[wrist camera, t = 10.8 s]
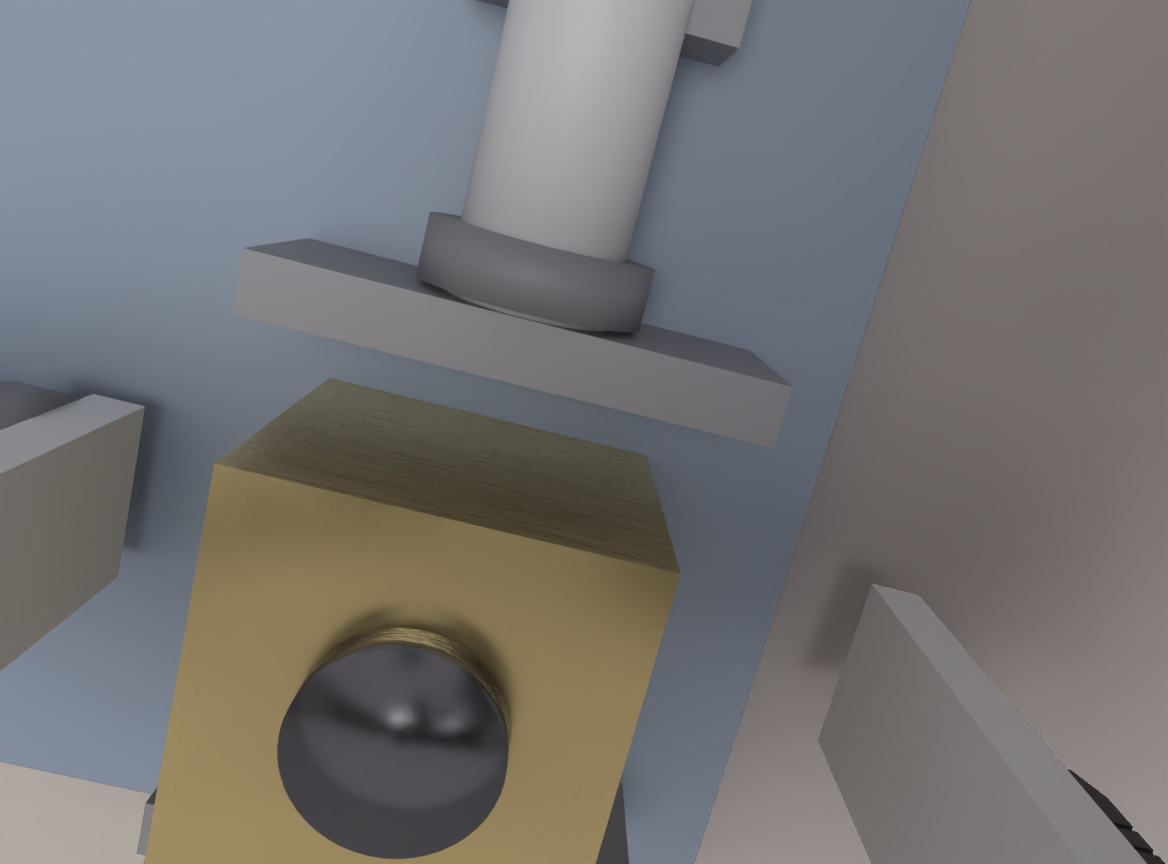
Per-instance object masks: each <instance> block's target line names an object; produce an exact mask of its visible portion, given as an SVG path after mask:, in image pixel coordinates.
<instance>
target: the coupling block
mask: <svg viewBox="0 0 1168 864" xmlns="http://www.w3.org/2000/svg"><path fill="white" fill-rule="evenodd" d="M680 575H681V573H680V569H679V566H678V563H677V559H676V556H675V552H674V549H673V545H672V542H671V538H670V535H669V531H668V528H667V524H666V521H665V517H664V514H663V510H662V507H661V503H660V500H659V497H658V493H657V490H656V486H655V483H654V479H653V476H652V472H651V469H650V465H649V462H648V458H647V455H643V454H639V453H635V452H631V451H627V450H623V449H619V448H615V447H611V446H607V445H602V444H598V443H594V442H590V441H586V440H582V439H578V438H574V437H570V436H566V435H561V434H557V433H553V432H549V431H545V430H541V429H537V428H533V427H529V426H525V425H521V424H516V423H512V422H508V421H504V420H500V419H496V418H492V417H488V416H484V415H480V414H475V413H471V412H467V411H463V410H459V409H455V408H451V407H447V406H443V405H439V404H435V403H430V402H426V401H422V400H418V399H414V398H410V397H406V396H402V395H398V394H394V393H389V392H385V391H381V390H377V389H373V388H369V387H365V386H361V385H357V384H353V383H349V382H344V381H340V380H336V379H332V378H329V379H328V380H326V381H325V382H324V383H322V384H321V385H319V386H318V387H317V388H315V389H314V390H313V391H311V392H310V393H309V394H307V395H306V396H305V397H303V398H302V399H301V400H299V401H298V402H297V403H295V404H294V405H292V406H291V407H290V408H288V409H287V410H286V411H284V412H283V413H282V414H280V415H279V416H278V417H276V418H275V419H274V420H272V421H271V422H270V423H268V424H267V425H265V426H264V427H263V428H261V429H260V430H259V431H257V432H256V433H255V434H253V435H252V436H251V437H249V438H248V439H247V440H245V441H244V442H243V443H241V444H240V445H239V446H237V447H236V448H234V449H233V450H232V451H230V452H229V453H228V454H226V455H225V456H224V457H222V458H221V459H220V460H218V461H217V462H216V463H214V468H213V473H212V479H211V485H210V490H209V496H208V502H207V508H206V513H205V519H204V525H203V530H202V536H201V542H200V547H199V553H198V559H197V565H196V570H195V576H194V582H193V587H192V593H191V599H190V605H189V610H188V616H187V622H186V627H185V633H184V639H183V644H182V650H181V656H180V662H179V667H178V673H177V679H176V684H175V690H174V696H173V702H172V707H171V713H170V719H169V724H168V730H167V736H166V741H165V747H164V753H163V759H162V764H161V770H160V776H159V781H158V787H157V793H156V798H155V804H154V810H153V816H152V821H151V827H150V833H149V838H148V844H147V850H146V856H145V861H144V864H596V861H597V857H598V854H599V851H600V847H601V844H602V840H603V837H604V834H605V830H606V827H607V823H608V820H609V817H610V813H611V810H612V806H613V803H614V800H615V796H616V793H617V789H618V786H619V783H620V779H621V776H622V772H623V769H624V765H625V762H626V759H627V755H628V752H629V748H630V745H631V742H632V738H633V735H634V731H635V728H636V725H637V721H638V718H639V714H640V711H641V708H642V704H643V701H644V697H645V694H646V690H647V687H648V684H649V680H650V677H651V673H652V670H653V667H654V663H655V660H656V656H657V653H658V650H659V646H660V643H661V639H662V636H663V633H664V629H665V626H666V622H667V619H668V615H669V612H670V609H671V605H672V602H673V598H674V595H675V592H676V588H677V585H678V581H679V578H680Z"/></svg>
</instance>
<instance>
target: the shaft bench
mask: <svg viewBox="0 0 1168 864" xmlns="http://www.w3.org/2000/svg"><path fill="white" fill-rule="evenodd" d="M970 1H971V0H0V430H2V429H5V428H7V427H10V426H12V425H15V424H17V423H20V422H23V421H25V420H28V419H30V418H34V417H36V416H39V415H41V414H44V413H46V412H49V411H51V410H54V409H56V408H58V407H61V406H63V405H66V404H69V403H71V402H74V401H76V400H79V399H81V398H84V397H86V396H89V395H92V394H96V395H100V396H104V397H108V398H113V399H117V400H121V401H125V402H129V403H133V404H137V405H141V406H145V410H144V416H143V422H142V429H141V435H140V441H139V448H138V454H137V461H136V467H135V473H134V480H133V486H132V492H131V499H130V505H129V511H128V518H127V524H126V531H125V537H124V543H123V550H122V556H121V562H120V569H119V575H118V577H117V578H116V579H115V580H114V581H112V582H111V583H110V584H109V585H107V586H106V587H105V588H104V589H102V590H101V591H100V592H99V593H97V594H96V595H95V596H94V597H92V598H91V599H90V600H89V601H87V602H86V603H85V604H84V605H82V606H81V607H80V608H79V609H77V610H76V611H75V612H74V613H73V614H71V615H70V616H69V617H68V618H66V619H65V620H64V621H63V622H61V623H60V624H59V625H58V626H56V627H55V628H54V629H53V630H51V631H50V632H49V633H48V634H46V635H45V636H44V637H43V638H41V639H40V640H39V641H38V642H36V643H35V644H34V645H33V646H31V647H30V648H29V649H28V650H26V651H25V652H24V653H23V654H21V655H20V656H19V657H18V658H17V659H15V660H14V661H13V662H12V663H10V664H9V665H8V666H7V667H5V668H4V669H3V670H2V671H0V762H4V763H9V764H13V765H18V766H23V767H27V768H32V769H37V770H41V771H46V772H51V773H55V774H60V775H65V776H70V777H74V778H79V779H84V780H88V781H93V782H98V783H102V784H107V785H112V786H116V787H121V788H126V789H130V790H135V791H140V792H144V793H149V794H152V795H151V796H150V798H149V799H148V801H147V802H146V804H145V810H144V816H143V822H142V827H141V833H140V839H139V845H138V850H137V854H141V855H146V850H147V844H148V838H149V833H150V827H151V821H152V816H153V810H154V804H155V798H156V793H157V787H158V781H159V776H160V770H161V764H162V759H163V753H164V747H165V741H166V736H167V730H168V724H169V719H170V713H171V707H172V702H173V696H174V690H175V684H176V679H177V673H178V667H179V662H180V656H181V650H182V644H183V639H184V633H185V627H186V622H187V616H188V610H189V605H190V599H191V593H192V587H193V582H194V576H195V570H196V565H197V559H198V553H199V547H200V542H201V536H202V530H203V525H204V519H205V513H206V508H207V502H208V496H209V490H210V485H211V479H212V473H213V468H214V463H216V462H217V461H218V460H220V459H221V458H222V457H224V456H225V455H226V454H228V453H229V452H230V451H232V450H233V449H234V448H236V447H237V446H239V445H240V444H241V443H243V442H244V441H245V440H247V439H248V438H249V437H251V436H252V435H253V434H255V433H256V432H257V431H259V430H260V429H261V428H263V427H264V426H265V425H267V424H268V423H270V422H271V421H272V420H274V419H275V418H276V417H278V416H279V415H280V414H282V413H283V412H284V411H286V410H287V409H288V408H290V407H291V406H292V405H294V404H295V403H297V402H298V401H299V400H301V399H302V398H303V397H305V396H306V395H307V394H309V393H310V392H311V391H313V390H314V389H315V388H317V387H318V386H319V385H321V384H322V383H324V382H325V381H326V380H328V379H329V378H332V379H336V380H340V381H344V382H349V383H353V384H357V385H361V386H365V387H369V388H373V389H377V390H381V391H385V392H389V393H394V394H398V395H402V396H406V397H410V398H414V399H418V400H422V401H426V402H430V403H435V404H439V405H443V406H447V407H451V408H455V409H459V410H463V411H467V412H471V413H475V414H480V415H484V416H488V417H492V418H496V419H500V420H504V421H508V422H512V423H516V424H521V425H525V426H529V427H533V428H537V429H541V430H545V431H549V432H553V433H557V434H561V435H566V436H570V437H574V438H578V439H582V440H586V441H590V442H594V443H598V444H602V445H607V446H611V447H615V448H619V449H623V450H627V451H631V452H635V453H639V454H643V455H647V458H648V462H649V465H650V469H651V472H652V476H653V479H654V483H655V486H656V490H657V493H658V497H659V500H660V503H661V507H662V510H663V514H664V517H665V521H666V524H667V528H668V531H669V535H670V538H671V542H672V545H673V549H674V552H675V556H676V559H677V563H678V566H679V569H680V573H681V575H680V578H679V581H678V585H677V588H676V592H675V595H674V598H673V602H672V605H671V609H670V612H669V615H668V619H667V622H666V626H665V629H664V633H663V636H662V639H661V643H660V646H659V650H658V653H657V656H656V660H655V663H654V667H653V670H652V673H651V677H650V680H649V684H648V687H647V690H646V694H645V697H644V701H643V704H642V708H641V711H640V714H639V718H638V721H637V725H636V728H635V731H634V735H633V738H632V742H631V745H630V748H629V752H628V755H627V759H626V762H625V765H624V769H623V772H622V776H621V779H620V783H619V786H618V789H617V793H616V796H615V800H614V803H613V806H612V810H611V813H610V817H609V820H608V823H607V827H606V830H605V834H604V837H603V840H602V844H601V847H600V851H599V854H598V857H597V861H596V864H694V862H695V859H696V856H697V853H698V850H699V847H700V844H701V841H702V837H703V834H704V831H705V828H706V825H707V822H708V819H709V816H710V812H711V809H712V806H713V803H714V800H715V797H716V794H717V791H718V787H719V784H720V781H721V778H722V775H723V772H724V769H725V766H726V763H727V759H728V756H729V753H730V750H731V747H732V744H733V741H734V738H735V734H736V731H737V728H738V725H739V722H740V719H741V716H742V713H743V709H744V706H745V703H746V700H747V697H748V694H749V691H750V688H751V685H752V681H753V678H754V675H755V672H756V669H757V666H758V663H759V660H760V656H761V653H762V650H763V647H764V644H765V641H766V638H767V635H768V631H769V628H770V625H771V622H772V619H773V616H774V613H775V610H776V607H777V603H778V600H779V597H780V594H781V591H782V588H783V585H784V582H785V578H786V575H787V572H788V569H789V566H790V563H791V560H792V557H793V553H794V550H795V547H796V544H797V541H798V538H799V535H800V532H801V529H802V525H803V522H804V519H805V516H806V513H807V510H808V507H809V504H810V500H811V497H812V494H813V491H814V488H815V485H816V482H817V479H818V475H819V472H820V469H821V466H822V463H823V460H824V457H825V454H826V451H827V447H828V444H829V441H830V438H831V435H832V432H833V429H834V426H835V422H836V419H837V416H838V413H839V410H840V407H841V404H842V401H843V397H844V394H845V391H846V388H847V385H848V382H849V379H850V376H851V373H852V369H853V366H854V363H855V360H856V357H857V354H858V351H859V348H860V344H861V341H862V338H863V335H864V332H865V329H866V326H867V323H868V319H869V316H870V313H871V310H872V307H873V304H874V301H875V298H876V294H877V291H878V288H879V285H880V282H881V279H882V276H883V273H884V270H885V266H886V263H887V260H888V257H889V254H890V251H891V248H892V245H893V241H894V238H895V235H896V232H897V229H898V226H899V223H900V220H901V216H902V213H903V210H904V207H905V204H906V201H907V198H908V195H909V192H910V188H911V185H912V182H913V179H914V176H915V173H916V170H917V167H918V163H919V160H920V157H921V154H922V151H923V148H924V145H925V142H926V138H927V135H928V132H929V129H930V126H931V123H932V120H933V117H934V114H935V110H936V107H937V104H938V101H939V98H940V95H941V92H942V89H943V85H944V82H945V79H946V76H947V73H948V70H949V67H950V64H951V60H952V57H953V54H954V51H955V48H956V45H957V42H958V39H959V36H960V32H961V29H962V26H963V23H964V20H965V17H966V14H967V11H968V7H969V4H970Z"/></svg>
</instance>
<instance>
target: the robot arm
mask: <svg viewBox="0 0 1168 864" xmlns="http://www.w3.org/2000/svg"><path fill="white" fill-rule="evenodd" d="M144 410H145V406H141V405H137V404H133V403H129V402H125V401H121V400H117V399H113V398H108V397H104V396H100V395H96V394H92V395H89V396H86V397H84V398H81V399H79V400H76V401H74V402H71V403H69V404H66V405H63V406H61V407H58V408H56V409H54V410H51V411H49V412H46V413H44V414H41V415H39V416H36V417H34V418H30V419H28V420H25V421H23V422H20V423H17V424H15V425H12V426H10V427H7V428H5V429H2V430H0V671H2V670H3V669H4V668H5V667H7V666H8V665H9V664H10V663H12V662H13V661H14V660H15V659H17V658H18V657H19V656H20V655H21V654H23V653H24V652H25V651H26V650H28V649H29V648H30V647H31V646H33V645H34V644H35V643H36V642H38V641H39V640H40V639H41V638H43V637H44V636H45V635H46V634H48V633H49V632H50V631H51V630H53V629H54V628H55V627H56V626H58V625H59V624H60V623H61V622H63V621H64V620H65V619H66V618H68V617H69V616H70V615H71V614H73V613H74V612H75V611H76V610H77V609H79V608H80V607H81V606H82V605H84V604H85V603H86V602H87V601H89V600H90V599H91V598H92V597H94V596H95V595H96V594H97V593H99V592H100V591H101V590H102V589H104V588H105V587H106V586H107V585H109V584H110V583H111V582H112V581H114V580H115V579H116V578H117V577H118V575H119V569H120V562H121V556H122V550H123V543H124V537H125V531H126V524H127V518H128V511H129V505H130V499H131V492H132V486H133V480H134V473H135V467H136V461H137V454H138V448H139V441H140V435H141V429H142V422H143V416H144ZM818 741H819V743H820V745H821V748H822V750H823V752H824V755H825V757H826V759H827V762H828V764H829V766H830V768H831V771H832V773H833V775H834V778H835V780H836V782H837V785H838V787H839V789H840V792H841V794H842V796H843V799H844V801H845V803H846V805H847V808H848V810H849V812H850V815H851V817H852V819H853V822H854V824H855V826H856V829H857V831H858V833H859V835H860V838H861V840H862V842H863V845H864V847H865V849H866V852H867V854H868V856H869V859H870V861H871V863H872V864H1165V863H1164V862H1163V861H1162V860H1161V858H1160V857H1159V856H1155V855H1153V849H1152V848H1151V847H1150V846H1149V845H1148V844H1147V842H1146V841H1145V840H1144V839H1143V838H1142V837H1141V836H1140V834H1139V833H1138V832H1134V831H1132V827H1133V826H1132V825H1131V824H1130V823H1129V822H1128V821H1127V820H1126V818H1125V817H1124V816H1123V815H1122V814H1121V813H1120V812H1119V811H1118V809H1117V808H1116V807H1115V806H1114V805H1113V804H1112V803H1111V801H1110V800H1109V799H1108V798H1107V797H1106V796H1104V795H1103V794H1102V793H1100V792H1099V791H1098V790H1096V789H1095V788H1094V787H1092V786H1091V785H1090V784H1088V783H1087V782H1086V781H1084V780H1083V779H1082V778H1080V777H1079V776H1078V775H1077V774H1075V773H1074V772H1073V771H1071V770H1068V769H1066V767H1065V766H1064V765H1063V764H1062V763H1061V761H1060V760H1059V759H1058V758H1057V757H1056V756H1055V754H1054V753H1053V752H1052V751H1051V750H1050V749H1049V747H1048V746H1047V745H1046V744H1045V743H1044V741H1043V740H1042V739H1041V738H1040V737H1039V736H1038V734H1037V733H1036V732H1035V731H1034V730H1033V728H1032V727H1031V726H1030V725H1029V724H1028V723H1027V721H1026V720H1025V719H1024V718H1023V717H1022V716H1021V714H1020V713H1019V712H1018V711H1017V710H1016V708H1015V707H1014V706H1013V705H1012V704H1011V703H1010V701H1009V700H1008V699H1007V698H1006V697H1005V695H1004V694H1003V693H1002V692H1001V691H1000V690H999V688H998V687H997V686H996V685H995V684H994V683H993V681H992V680H991V679H990V678H989V677H988V675H987V674H986V673H985V672H984V671H983V670H982V668H981V667H980V666H979V665H978V664H977V662H976V661H975V660H974V659H973V658H972V657H971V655H970V654H969V653H968V652H967V651H966V650H965V648H964V647H963V646H962V645H961V644H960V642H959V641H958V640H957V639H956V638H955V637H954V635H953V634H952V633H951V632H950V631H949V629H948V628H947V627H946V626H945V625H944V624H943V622H942V621H941V620H940V619H939V618H938V616H937V615H936V614H935V613H934V612H933V611H932V609H931V608H930V607H929V606H928V605H927V604H926V602H925V601H924V600H923V599H922V598H921V596H920V595H918V594H913V593H909V592H905V591H901V590H897V589H893V588H889V587H885V586H881V585H876V584H871V587H870V590H869V593H868V596H867V599H866V602H865V605H864V608H863V611H862V614H861V617H860V620H859V622H858V625H857V628H856V631H855V634H854V637H853V640H852V643H851V646H850V649H849V652H848V655H847V658H846V661H845V664H844V666H843V669H842V672H841V675H840V678H839V681H838V684H837V687H836V690H835V693H834V696H833V699H832V702H831V705H830V707H829V710H828V713H827V716H826V719H825V722H824V725H823V728H822V731H821V734H820V737H819V740H818Z"/></svg>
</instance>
